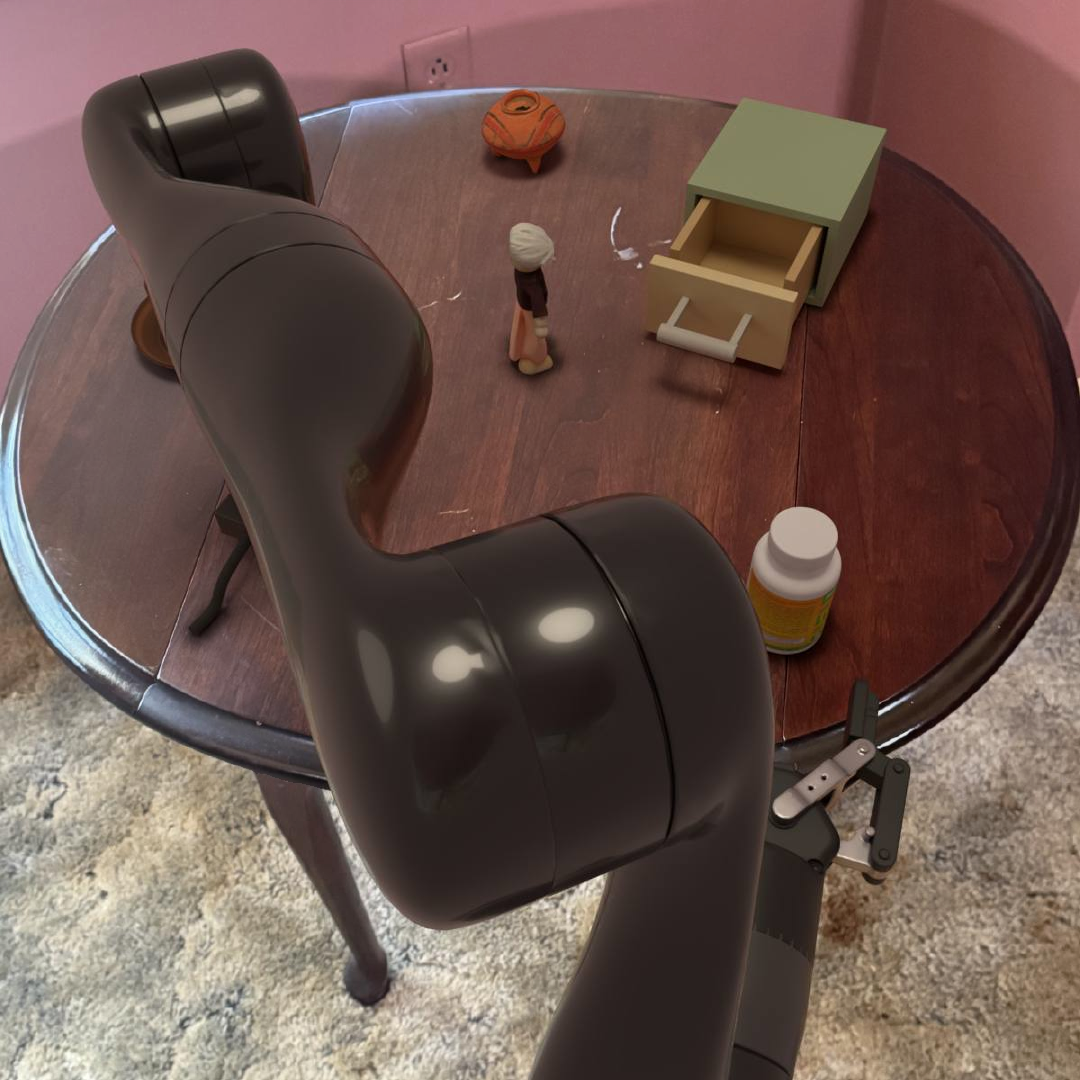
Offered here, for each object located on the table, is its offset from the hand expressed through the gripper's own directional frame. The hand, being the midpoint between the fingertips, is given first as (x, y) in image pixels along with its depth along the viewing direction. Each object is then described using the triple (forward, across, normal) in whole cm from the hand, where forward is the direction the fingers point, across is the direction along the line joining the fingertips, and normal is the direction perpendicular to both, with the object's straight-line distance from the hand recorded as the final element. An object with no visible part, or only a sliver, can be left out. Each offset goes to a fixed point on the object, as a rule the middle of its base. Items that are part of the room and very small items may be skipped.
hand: (780, 669), depth 61 cm
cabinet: (+49, +6, +9) cm, 50 cm away
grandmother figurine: (+29, +23, +9) cm, 38 cm away
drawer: (+37, +8, +8) cm, 38 cm away
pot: (+56, +31, +9) cm, 65 cm away
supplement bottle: (+9, 0, +9) cm, 13 cm away
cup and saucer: (+26, +50, +9) cm, 57 cm away
